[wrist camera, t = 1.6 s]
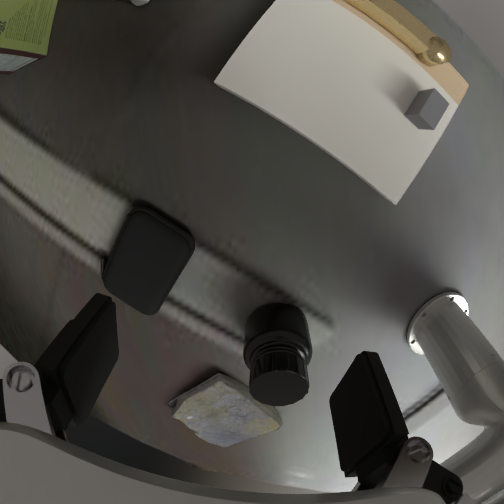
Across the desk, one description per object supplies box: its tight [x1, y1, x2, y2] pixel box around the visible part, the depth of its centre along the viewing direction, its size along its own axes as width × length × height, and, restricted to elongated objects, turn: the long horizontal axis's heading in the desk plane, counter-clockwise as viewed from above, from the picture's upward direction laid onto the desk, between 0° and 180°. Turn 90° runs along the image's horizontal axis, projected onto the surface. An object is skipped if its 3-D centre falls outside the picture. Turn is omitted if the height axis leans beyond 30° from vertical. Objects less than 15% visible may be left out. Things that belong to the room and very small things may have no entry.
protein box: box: [0, 0, 58, 74], centre depth 15 cm, size 10×15×16 cm
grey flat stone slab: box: [169, 373, 283, 448], centre depth 48 cm, size 20×5×17 cm
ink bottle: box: [243, 303, 312, 406], centre depth 35 cm, size 10×9×12 cm
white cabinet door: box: [214, 0, 469, 205], centre depth 23 cm, size 24×20×6 cm
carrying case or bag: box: [101, 206, 195, 315], centre depth 36 cm, size 11×3×15 cm
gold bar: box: [345, 0, 452, 67], centre depth 19 cm, size 13×3×3 cm, turn 58°
